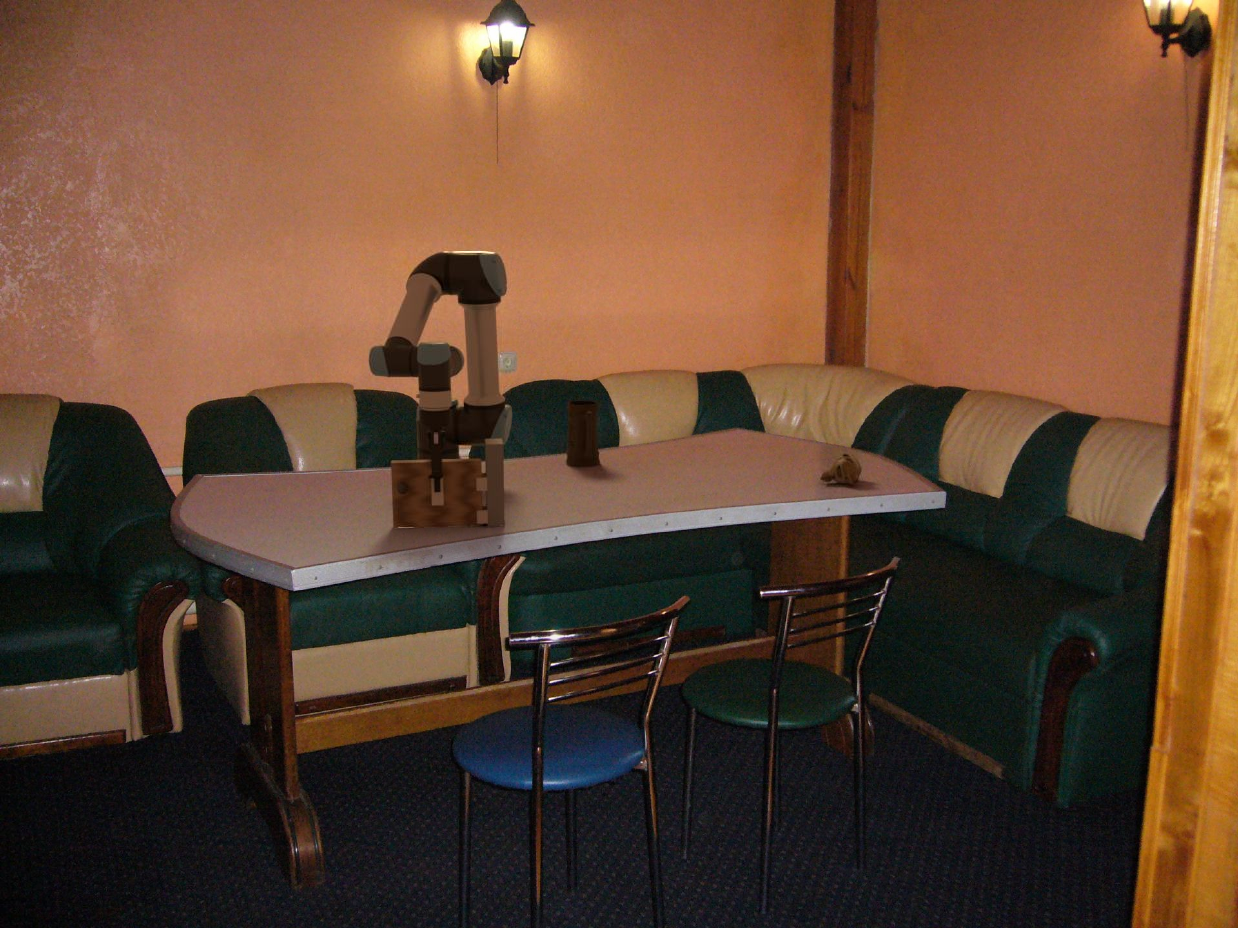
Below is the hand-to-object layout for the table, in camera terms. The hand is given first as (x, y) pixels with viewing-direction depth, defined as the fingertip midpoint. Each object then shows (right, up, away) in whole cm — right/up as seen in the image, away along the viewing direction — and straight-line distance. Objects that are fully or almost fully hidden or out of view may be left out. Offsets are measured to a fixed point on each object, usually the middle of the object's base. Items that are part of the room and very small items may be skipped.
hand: (437, 499), depth 255 cm
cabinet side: (+12, -6, +4) cm, 14 cm away
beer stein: (+33, +8, +74) cm, 82 cm away
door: (0, -6, +1) cm, 7 cm away
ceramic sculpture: (+108, +3, +52) cm, 120 cm away
